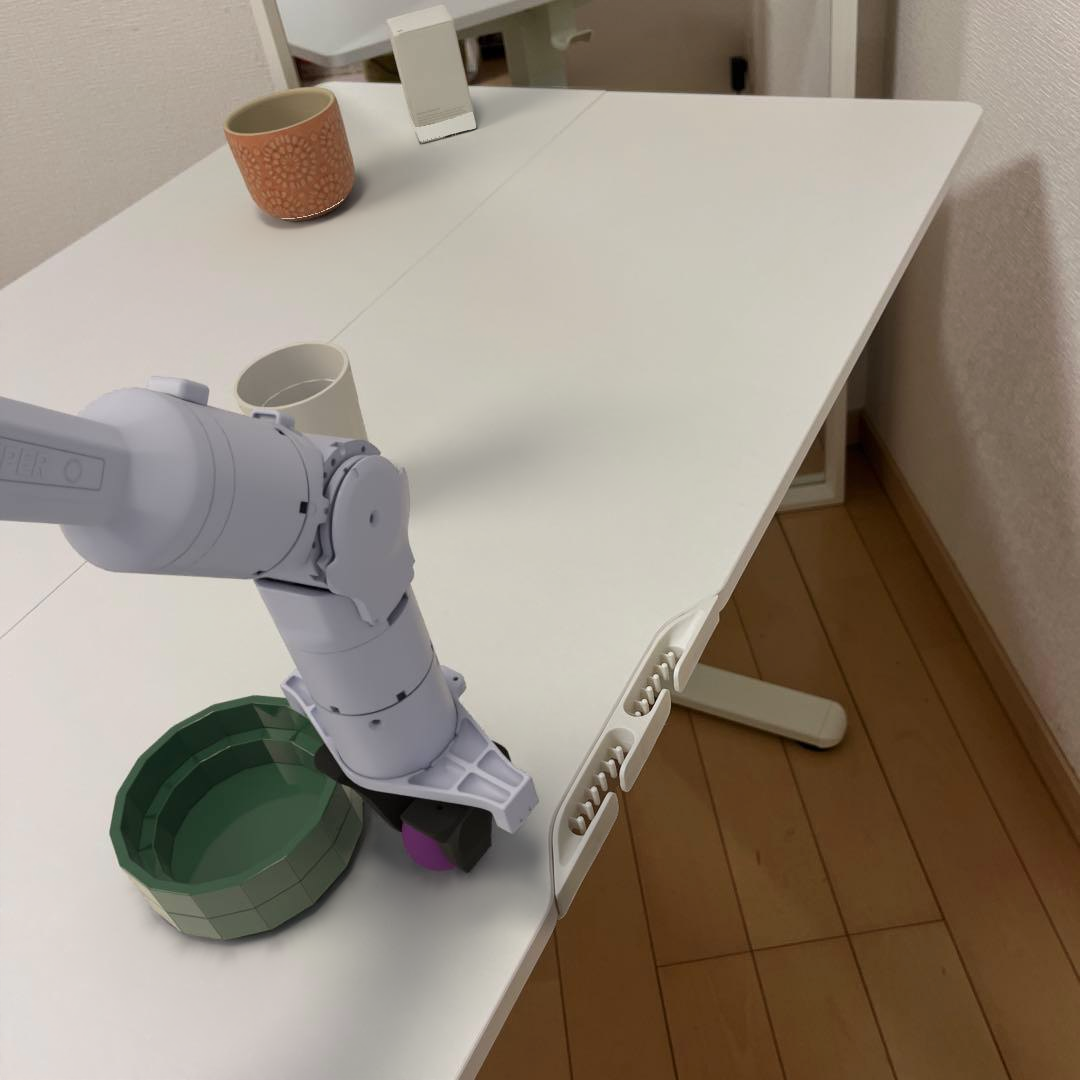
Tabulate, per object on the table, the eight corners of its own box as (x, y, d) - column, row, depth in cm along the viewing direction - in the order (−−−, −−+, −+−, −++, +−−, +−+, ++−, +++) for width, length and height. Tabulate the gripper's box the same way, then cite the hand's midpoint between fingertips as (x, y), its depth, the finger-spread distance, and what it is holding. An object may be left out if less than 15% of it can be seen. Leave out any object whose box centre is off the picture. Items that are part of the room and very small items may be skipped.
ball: (454, 899, 56) (435, 856, 53) (397, 864, 58) (376, 821, 55) (502, 840, 58) (486, 796, 55) (446, 807, 60) (428, 763, 58)
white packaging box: (478, 129, 131) (454, 18, 123) (418, 145, 131) (390, 35, 123) (469, 109, 137) (445, 1, 129) (411, 124, 137) (383, 17, 128)
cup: (405, 470, 84) (360, 335, 76) (384, 541, 78) (332, 403, 70) (306, 478, 85) (252, 346, 77) (278, 549, 79) (216, 414, 72)
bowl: (248, 988, 54) (210, 938, 51) (107, 874, 61) (65, 823, 58) (410, 805, 61) (385, 750, 57) (266, 720, 67) (236, 666, 64)
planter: (317, 238, 117) (282, 138, 110) (235, 227, 123) (197, 131, 116) (387, 185, 124) (359, 88, 117) (306, 177, 130) (275, 84, 123)
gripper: (555, 661, 46) (601, 840, 55) (321, 557, 54) (395, 728, 63) (448, 784, 43) (517, 954, 52) (214, 653, 51) (308, 820, 59)
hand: (444, 837), depth 57 cm, fingers closed on ball, 4 cm apart
